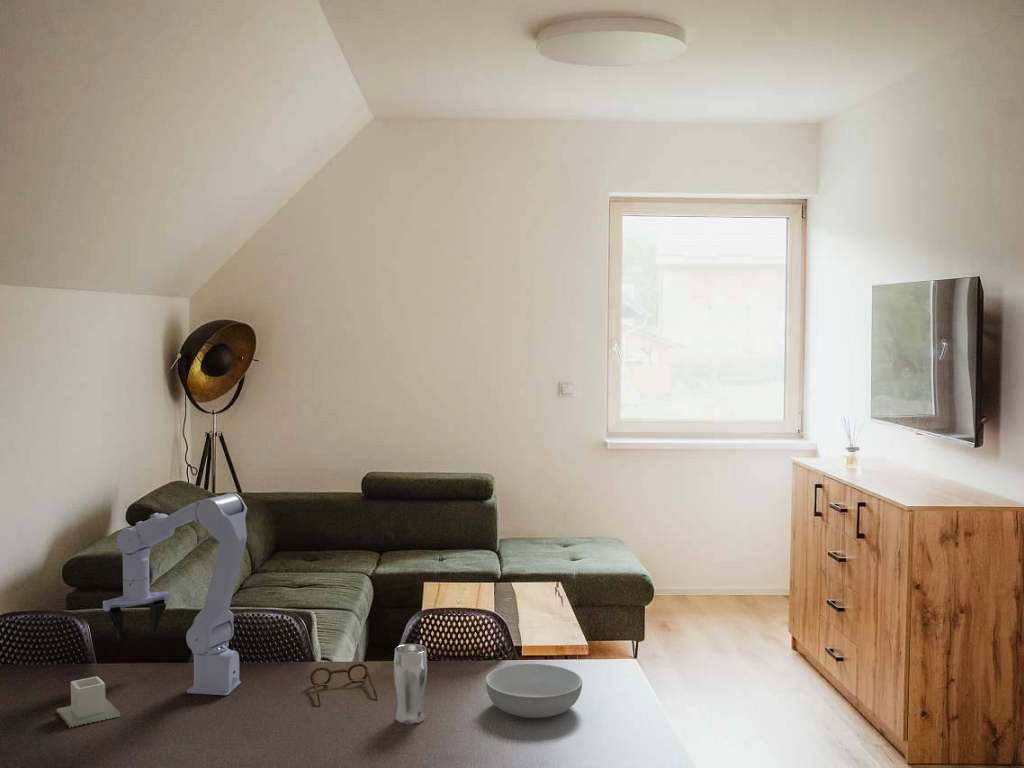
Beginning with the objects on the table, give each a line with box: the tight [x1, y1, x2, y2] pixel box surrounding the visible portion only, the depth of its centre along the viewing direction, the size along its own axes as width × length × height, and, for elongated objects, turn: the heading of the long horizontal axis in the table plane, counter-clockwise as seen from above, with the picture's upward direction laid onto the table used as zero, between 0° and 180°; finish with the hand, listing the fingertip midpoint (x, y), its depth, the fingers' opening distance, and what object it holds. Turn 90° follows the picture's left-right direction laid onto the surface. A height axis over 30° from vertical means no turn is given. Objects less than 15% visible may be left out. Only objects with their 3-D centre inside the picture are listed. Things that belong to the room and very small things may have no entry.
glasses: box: [310, 663, 378, 706], centre depth 226 cm, size 13×13×5 cm
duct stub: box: [56, 697, 121, 729], centre depth 212 cm, size 10×10×4 cm
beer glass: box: [393, 643, 428, 725], centre depth 212 cm, size 7×7×15 cm
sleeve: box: [70, 676, 106, 718], centre depth 212 cm, size 5×5×6 cm
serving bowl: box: [485, 663, 583, 719], centre depth 218 cm, size 21×21×7 cm
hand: (136, 636), depth 235 cm, fingers open, 7 cm apart
